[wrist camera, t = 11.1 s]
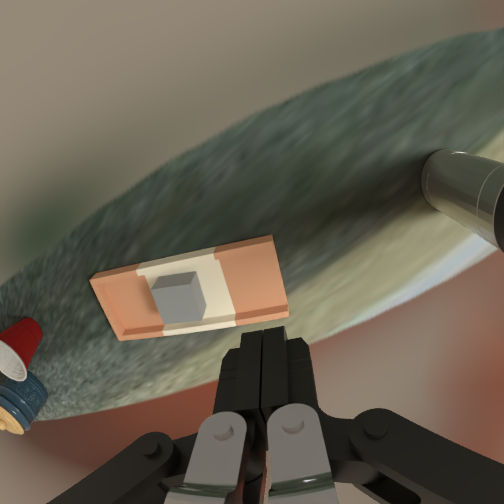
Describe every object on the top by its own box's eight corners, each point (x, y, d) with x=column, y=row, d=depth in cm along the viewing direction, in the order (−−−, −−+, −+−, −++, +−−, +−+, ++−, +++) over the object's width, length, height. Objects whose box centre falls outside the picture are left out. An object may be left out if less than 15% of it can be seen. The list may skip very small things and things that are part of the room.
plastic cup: (54, 355, 56) (28, 391, 45) (18, 336, 55) (-9, 367, 44) (51, 319, 52) (19, 355, 41) (13, 299, 51) (-20, 330, 40)
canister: (35, 369, 59) (1, 417, 43) (56, 404, 64) (29, 451, 48) (5, 361, 60) (-28, 403, 44) (25, 395, 65) (-2, 437, 49)
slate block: (196, 270, 45) (190, 284, 41) (206, 305, 47) (201, 320, 44) (158, 276, 46) (150, 289, 42) (170, 309, 48) (163, 324, 44)
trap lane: (271, 234, 43) (272, 240, 41) (288, 307, 47) (289, 316, 45) (96, 273, 47) (89, 280, 45) (124, 332, 51) (119, 340, 49)
